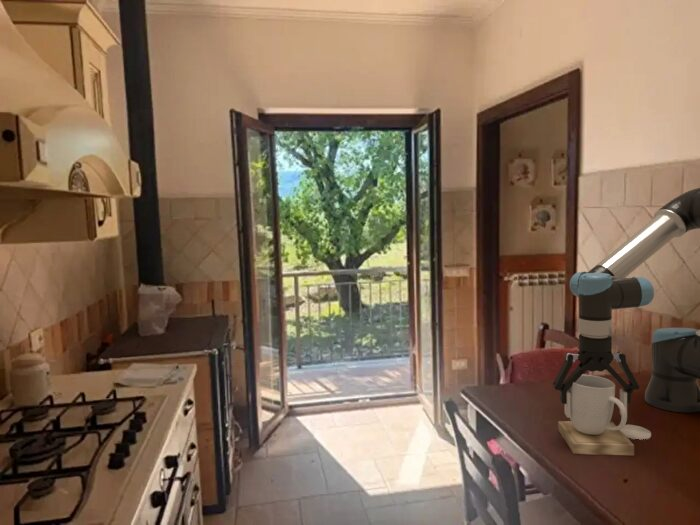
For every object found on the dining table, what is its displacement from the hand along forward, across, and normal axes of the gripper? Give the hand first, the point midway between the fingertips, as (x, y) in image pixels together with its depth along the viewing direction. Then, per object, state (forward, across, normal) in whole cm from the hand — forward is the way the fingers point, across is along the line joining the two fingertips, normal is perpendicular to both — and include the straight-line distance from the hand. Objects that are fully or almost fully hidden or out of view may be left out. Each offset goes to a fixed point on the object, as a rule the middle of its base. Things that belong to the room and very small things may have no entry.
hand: (595, 415), depth 132 cm
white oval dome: (+8, -12, -6) cm, 15 cm away
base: (+7, 0, 0) cm, 7 cm away
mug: (+4, +1, 0) cm, 4 cm away
